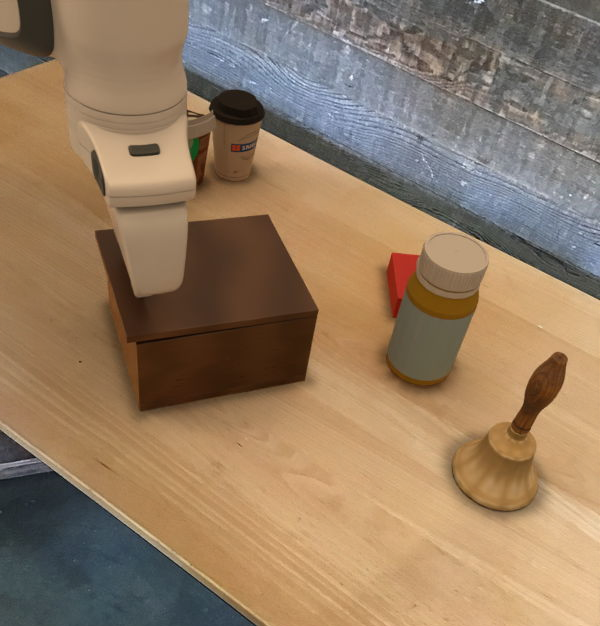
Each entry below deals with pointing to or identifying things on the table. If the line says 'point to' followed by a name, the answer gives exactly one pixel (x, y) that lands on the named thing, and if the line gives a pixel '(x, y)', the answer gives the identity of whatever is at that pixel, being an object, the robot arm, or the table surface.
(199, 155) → the food container
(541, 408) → the hand bell
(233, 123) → the coffee cup
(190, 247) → the lid
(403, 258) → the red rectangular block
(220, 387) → the chest
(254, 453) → the table surface
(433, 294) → the bottle
